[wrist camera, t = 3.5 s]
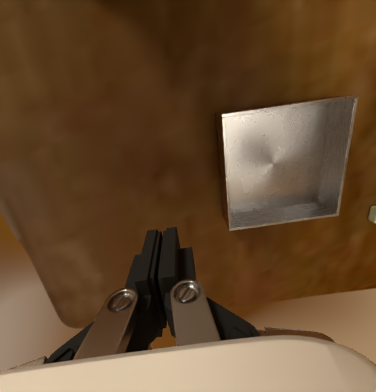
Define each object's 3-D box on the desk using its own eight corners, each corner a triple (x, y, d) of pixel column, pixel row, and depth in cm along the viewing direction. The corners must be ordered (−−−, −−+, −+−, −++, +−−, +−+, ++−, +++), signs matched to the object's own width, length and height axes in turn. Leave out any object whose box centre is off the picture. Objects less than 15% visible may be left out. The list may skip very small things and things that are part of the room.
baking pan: (214, 113, 21) (221, 114, 18) (331, 96, 21) (359, 94, 18) (222, 215, 26) (229, 231, 23) (318, 202, 26) (338, 215, 23)
